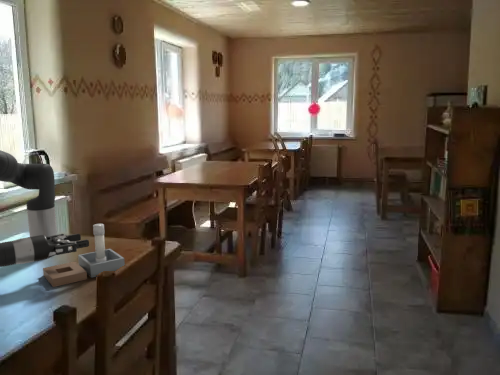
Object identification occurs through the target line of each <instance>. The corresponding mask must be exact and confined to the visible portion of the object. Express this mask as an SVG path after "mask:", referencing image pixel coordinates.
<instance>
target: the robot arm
mask: <svg viewBox="0 0 500 375" xmlns="http://www.w3.org/2000/svg"><path fill="white" fill-rule="evenodd" d="M55 179H56V178H55V172H54V168H53V167H52V166H51V165H50V164H49V163H21V162H18V160H17V159H16V157H15V156H14V155H12V153H8V152H7V151H4V150H0V182H5V183H12V184H14V185H16V186H18V187H20V188H22V189H25V190H35V191H36V190H38V195H37V196H36V197H33V198H31V199H29V200H27V201H26V204H25V205H26V214H27V223H28V231H29V232H28V233H29V237H20V238H18V239H15V240H9V241H4V242H0V268H3V267H8V266H9V267H10V266H13V265H23V264H28V263H33V262H39V261H43V260H47V259H49V257H51V256H55V255H56V256H61V255H65V254H69V253H77V250H78V249H82V248H87V247H89V246H90V241H89V239H81V238H82V237H81V234H80V233H74V234H65V233H61V234H58V226H57V217H56V214H57V213H56V207H55V202H56V201H55V200H56V188H55V187H56V185H55V184H56V183H55V182H56V180H55Z"/></svg>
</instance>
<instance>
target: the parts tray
mask: <svg viewBox="0 0 500 375" xmlns="http://www.w3.org/2000/svg"><path fill="white" fill-rule="evenodd" d="M105 256H106V261H105V262H100V263H96V259H95V257H96V251H92V252H87V253H83V254H82V253H81V254H78V255H77V257H78V258H77V260H78V264H79V265H80V266H81V267H82V268H83V269H84V270H85V271H86V272H87V276H89V277H90V278H96V277H97V276H96V275H98V274H99V273H101V272H103V271H116V270H117V269H119V268H120V267H122V266H124V265H125V264H126V263H125V261H126V260H125V257H123V256H122V255H121V254H119V253H118V252H116V251H114V250H113V249H112V248H105ZM125 266H126V265H125Z"/></svg>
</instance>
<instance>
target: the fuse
mask: <svg viewBox="0 0 500 375" xmlns="http://www.w3.org/2000/svg"><path fill="white" fill-rule="evenodd" d="M92 228H93V230H92V231H93V235H94V246H95V251H94V252H96V257H95V259H96V263H100V262H105V261H106V256H105V250H106V246H105V224H104V223H96V224H93V225H92Z"/></svg>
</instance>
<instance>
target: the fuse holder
mask: <svg viewBox="0 0 500 375" xmlns="http://www.w3.org/2000/svg"><path fill="white" fill-rule="evenodd" d="M42 274H43V277H44V278H45V279H46V280H47V282H48V283H49V284H50V285H51V286H52V287H53V288H55V287H60V286H63V285H68V284H73V283H76V282H81V281H86V280H88V274H87V272H86V271H85V270H84V269H83V268H82V267H81V266H80V265H79V263H78V262H76V261H71V262H66V263H61V264H60V263H59V264H57V265H50V266H46V267H43V268H42Z"/></svg>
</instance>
